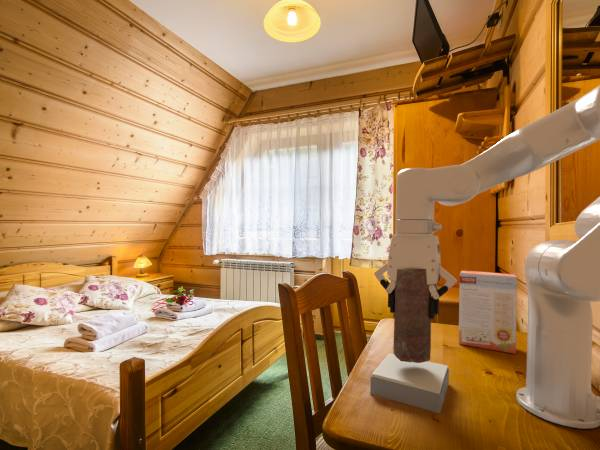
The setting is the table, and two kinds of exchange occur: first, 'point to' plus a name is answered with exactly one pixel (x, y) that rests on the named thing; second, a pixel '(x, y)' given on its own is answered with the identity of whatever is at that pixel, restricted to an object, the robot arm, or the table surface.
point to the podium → (411, 382)
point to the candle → (412, 316)
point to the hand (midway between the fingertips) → (412, 313)
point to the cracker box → (488, 310)
